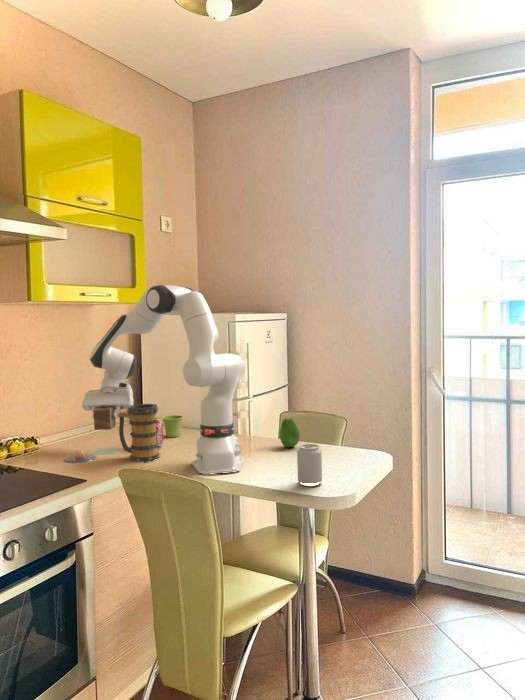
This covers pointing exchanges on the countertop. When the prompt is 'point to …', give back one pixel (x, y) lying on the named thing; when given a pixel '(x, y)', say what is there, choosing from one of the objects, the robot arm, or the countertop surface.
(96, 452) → the mat
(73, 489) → the countertop surface
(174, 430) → the plant pot
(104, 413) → the cover box
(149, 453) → the mug
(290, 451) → the countertop surface
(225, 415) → the robot arm
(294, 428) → the avocado
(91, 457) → the slate board
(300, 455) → the can
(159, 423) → the soda can
